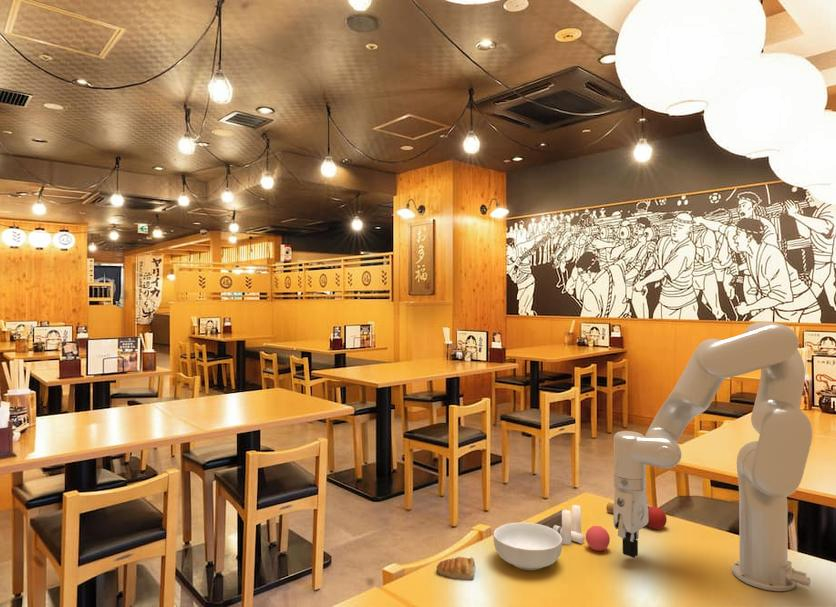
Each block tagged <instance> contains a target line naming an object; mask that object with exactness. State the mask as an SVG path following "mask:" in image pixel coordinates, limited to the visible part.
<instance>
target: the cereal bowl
mask: <svg viewBox="0 0 836 607" xmlns="http://www.w3.org/2000/svg"><path fill="white" fill-rule="evenodd" d="M535 523H536V522H535ZM535 523H534V522H525V521H524V522H523V521H521V522H512V523H511V522H509V523H505V524H502V525H500V526H498V527H497V528H495V529H494V531H493V545H494V549H495V551H496V552H497V554H498V556H499V557H500V558H501V559H503V560H504V562H506V563H508V564H510V565H513V567H516V568H517V569H520V570H524V571H536V570H537V571H538V570H539V569H542V568H545V567H549V566H551V565H552V564H554V563H556V561H557V560H558V559H559V558H560V556H561V553H562V549H563V543H562V537H561V535H560V534H559V533H558V532H557V531H556V530H554V529H552V528H550V527H547V526H544V525H540V524H535Z"/></svg>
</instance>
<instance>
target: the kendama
mask: <svg viewBox="0 0 836 607" xmlns="http://www.w3.org/2000/svg"><path fill="white" fill-rule="evenodd" d="M606 512H607V513H609V514H614V502H608V503H607V504H606ZM667 522H668V520H667V515H666V512H665V511H664V510H663V509H661V508H660V507H658V506H652V505H650V504H649V503H648V524H647V525H646V526H648V527H649V528H651V529H653V530H659V529H660V530H661V529H664V527H665V526H666V524H667Z"/></svg>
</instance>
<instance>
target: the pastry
mask: <svg viewBox="0 0 836 607" xmlns="http://www.w3.org/2000/svg"><path fill="white" fill-rule="evenodd" d="M476 568H477V567H476V563H475V559H474V557H473V556H472V557H470V558H469V557H462V556H457V557H454V558H448V559H446V560H441V561H440V562H438V563H437V565H436V571H437V573H438V574H439V575H441V576H444V577H448V578H451V579H456V580H473V579H474V578H475V576H476V575H475V571H476Z"/></svg>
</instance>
